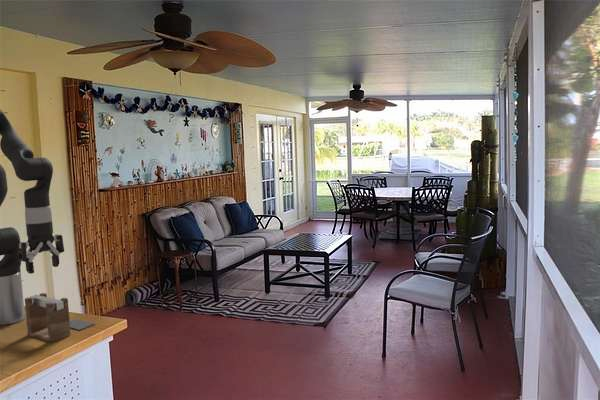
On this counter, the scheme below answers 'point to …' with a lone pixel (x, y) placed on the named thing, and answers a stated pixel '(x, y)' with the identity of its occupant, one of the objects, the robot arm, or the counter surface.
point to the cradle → (47, 320)
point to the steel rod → (43, 300)
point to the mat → (80, 324)
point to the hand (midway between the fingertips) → (43, 269)
